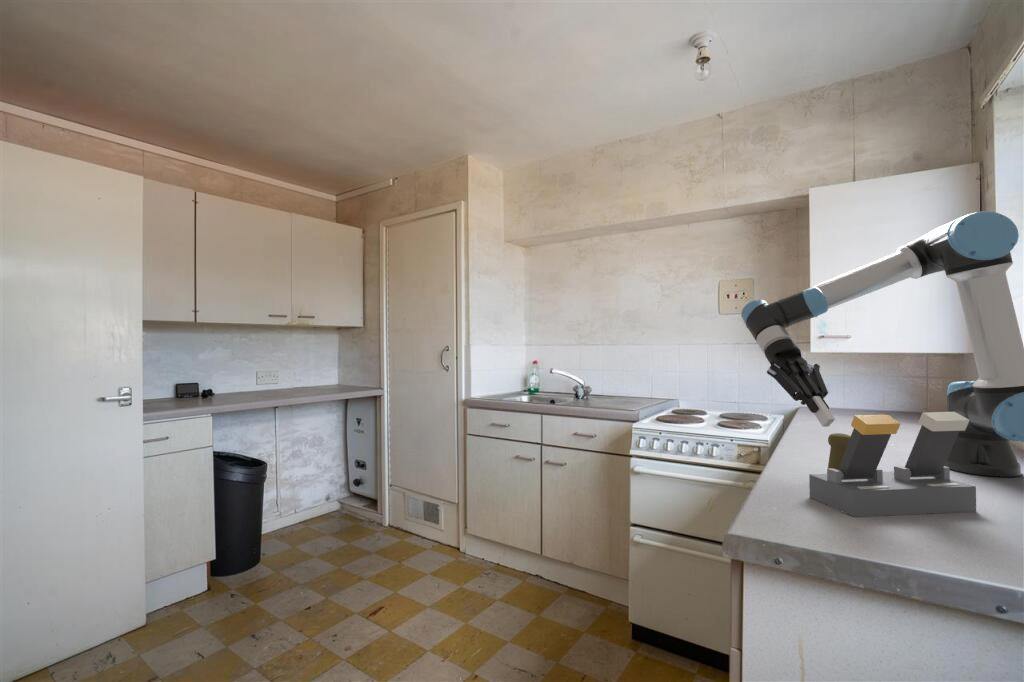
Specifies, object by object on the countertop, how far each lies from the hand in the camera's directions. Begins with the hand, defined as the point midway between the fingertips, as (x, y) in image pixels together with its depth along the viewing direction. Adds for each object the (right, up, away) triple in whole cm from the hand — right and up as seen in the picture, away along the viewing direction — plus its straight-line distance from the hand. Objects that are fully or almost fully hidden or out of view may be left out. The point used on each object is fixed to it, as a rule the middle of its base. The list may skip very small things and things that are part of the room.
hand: (828, 422), depth 106 cm
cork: (+12, -16, +13) cm, 24 cm away
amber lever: (+1, -10, -7) cm, 12 cm away
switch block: (+8, -16, -7) cm, 19 cm away
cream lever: (+16, -9, -6) cm, 19 cm away
